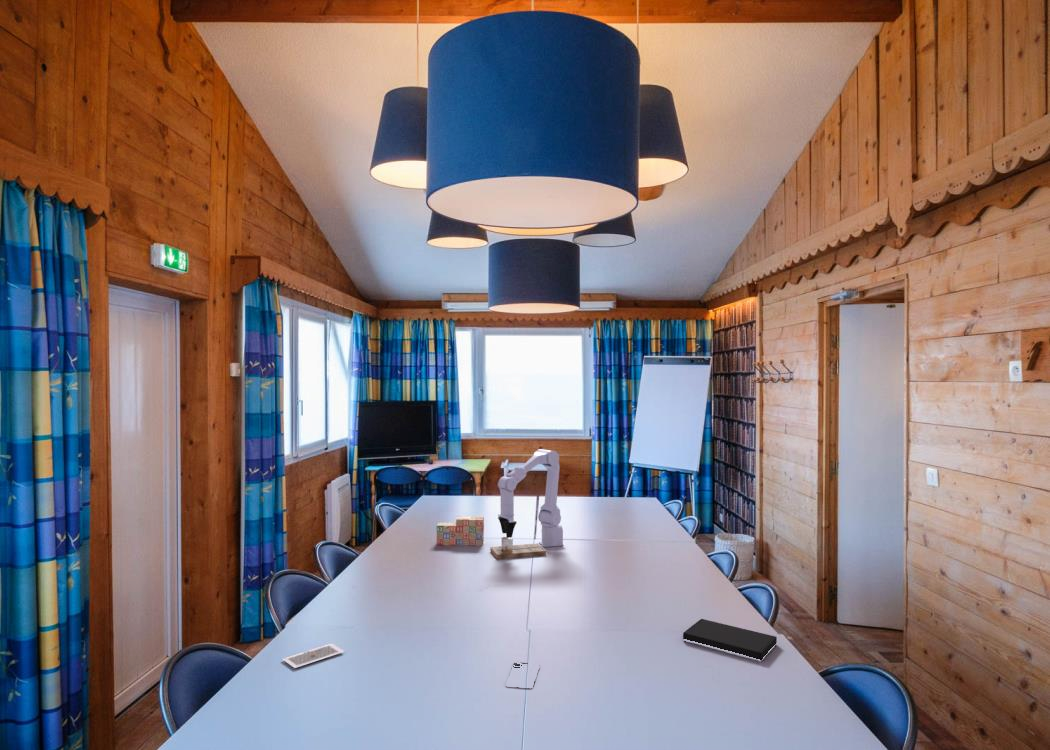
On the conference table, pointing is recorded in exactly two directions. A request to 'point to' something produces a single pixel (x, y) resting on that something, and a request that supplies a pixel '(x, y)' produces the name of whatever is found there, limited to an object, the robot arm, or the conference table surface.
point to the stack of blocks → (461, 532)
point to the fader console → (518, 551)
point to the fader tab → (507, 544)
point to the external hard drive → (731, 638)
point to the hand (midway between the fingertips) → (507, 535)
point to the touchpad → (313, 655)
